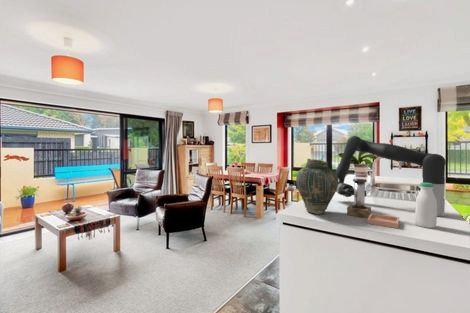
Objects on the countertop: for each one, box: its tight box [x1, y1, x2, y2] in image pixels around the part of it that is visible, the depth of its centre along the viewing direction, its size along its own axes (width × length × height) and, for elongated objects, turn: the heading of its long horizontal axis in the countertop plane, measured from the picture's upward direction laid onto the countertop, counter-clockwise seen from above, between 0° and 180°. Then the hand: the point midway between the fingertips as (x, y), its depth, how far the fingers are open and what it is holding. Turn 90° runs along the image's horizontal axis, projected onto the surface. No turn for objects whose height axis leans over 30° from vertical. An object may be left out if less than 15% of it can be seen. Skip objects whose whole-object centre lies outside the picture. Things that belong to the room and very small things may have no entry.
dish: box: [366, 212, 400, 230], centre depth 114 cm, size 12×12×2 cm
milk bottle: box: [414, 182, 438, 229], centre depth 109 cm, size 8×8×20 cm
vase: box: [295, 158, 339, 215], centre depth 132 cm, size 22×22×30 cm
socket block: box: [346, 203, 372, 219], centre depth 128 cm, size 10×10×4 cm
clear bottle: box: [352, 178, 367, 209], centre depth 128 cm, size 6×6×19 cm
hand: (357, 194), depth 130 cm, fingers open, 8 cm apart
